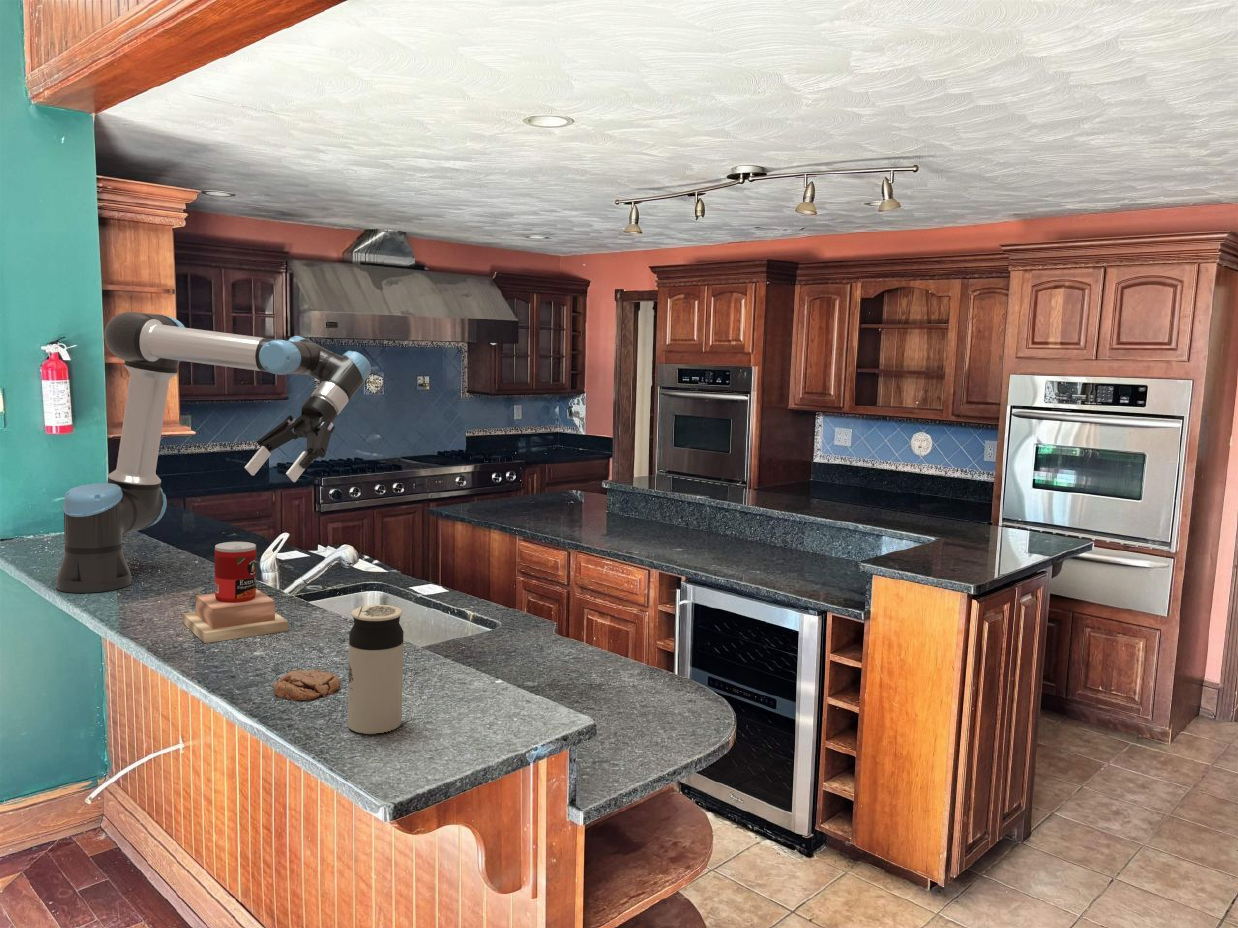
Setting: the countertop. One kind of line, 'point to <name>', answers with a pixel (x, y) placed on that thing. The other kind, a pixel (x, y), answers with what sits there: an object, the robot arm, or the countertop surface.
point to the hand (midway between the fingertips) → (269, 474)
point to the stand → (233, 618)
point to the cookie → (306, 685)
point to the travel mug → (375, 669)
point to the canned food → (235, 571)
